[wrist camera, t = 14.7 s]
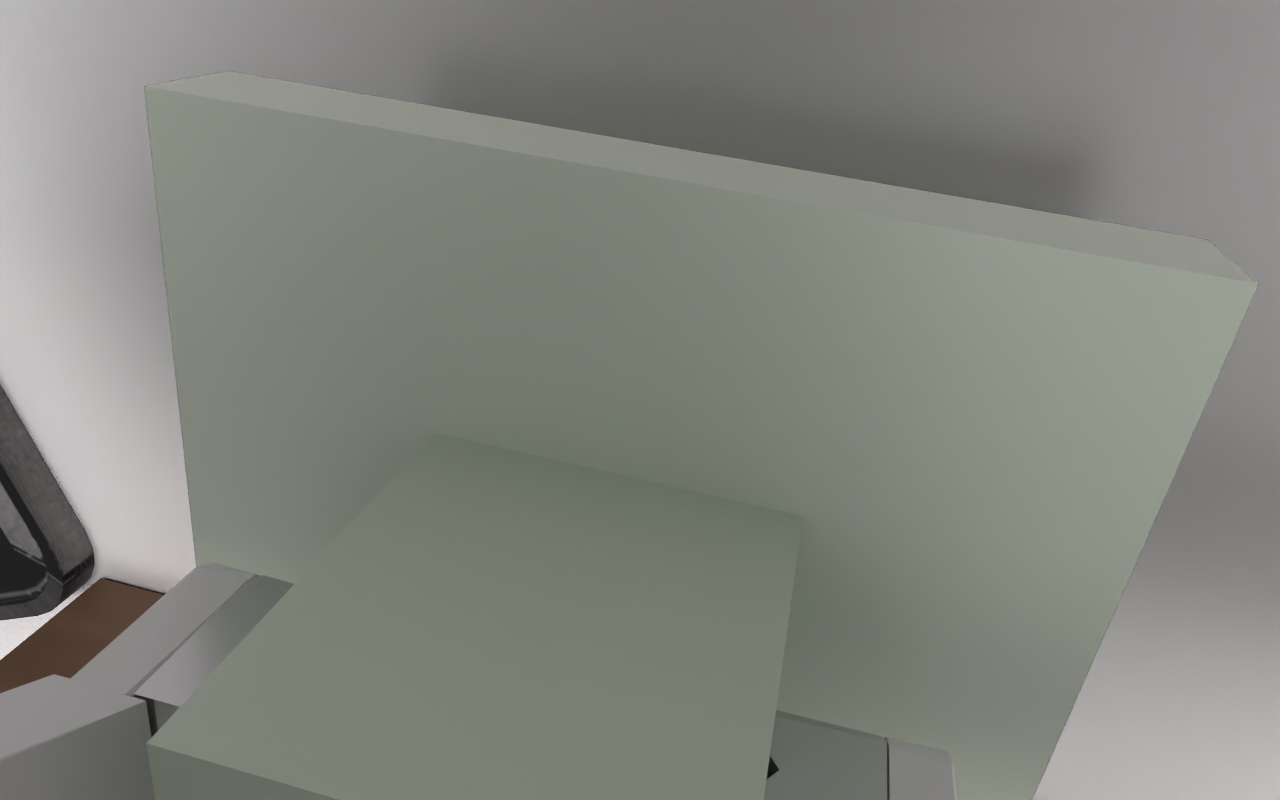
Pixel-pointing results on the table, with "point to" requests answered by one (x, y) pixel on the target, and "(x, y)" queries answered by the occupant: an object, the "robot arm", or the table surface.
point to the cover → (644, 452)
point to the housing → (76, 633)
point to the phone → (35, 528)
